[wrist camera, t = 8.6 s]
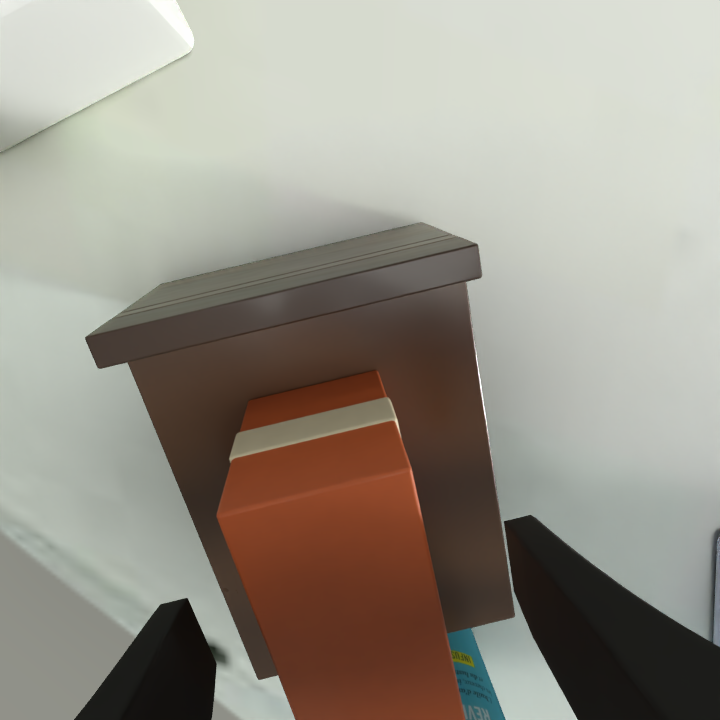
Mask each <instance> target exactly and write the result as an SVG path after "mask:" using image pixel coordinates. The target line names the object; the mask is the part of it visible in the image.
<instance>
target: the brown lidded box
mask: <svg viewBox="0 0 720 720" xmlns="http://www.w3.org/2000/svg"><path fill="white" fill-rule="evenodd" d="M481 277H482V270H481V262H480V255H479V248H478V244H476V243H473V242H471V241H468V240H466V239H463V238H461V237H458V236H455V235H452V234H450V233H447V232H445V231H442V230H440V229H437V228H435V227H432V226H430V225H427V224H425V223H417V224H412V225H408V226H404V227H400V228H396V229H391V230H387V231H383V232H379V233H374V234H370V235H366V236H362V237H358V238H353V239H349V240H345V241H341V242H336V243H332V244H328V245H324V246H320V247H315V248H311V249H307V250H303V251H298V252H294V253H290V254H286V255H282V256H277V257H273V258H269V259H265V260H260V261H256V262H252V263H248V264H244V265H239V266H235V267H231V268H227V269H222V270H218V271H214V272H210V273H206V274H201V275H197V276H193V277H189V278H184V279H180V280H176V281H172V282H168V283H163V284H160V285H159V286H158V287H156V288H155V289H153V290H152V291H151V292H149V293H148V294H146V295H145V296H143V297H142V298H141V299H139V300H138V301H136V302H135V303H134V304H132V305H131V306H129V307H128V308H126V309H125V310H124V311H122V312H121V313H120V314H118V315H116V316H115V317H114V318H112V319H111V320H109V321H108V322H106V323H105V324H103V325H102V326H100V327H99V328H98V329H96V330H95V331H93V332H92V333H90V334H89V335H88V336H86V337H85V340H86V342H87V344H88V347H89V349H90V351H91V353H92V356H93V358H94V360H95V363H96V365H97V367H98V368H99V369H102V368H106V367H110V366H114V365H118V364H123V363H127V362H128V364H129V367H130V369H131V372H132V374H133V377H134V379H135V382H136V384H137V386H138V389H139V391H140V394H141V396H142V399H143V401H144V403H145V406H146V408H147V411H148V413H149V416H150V418H151V420H152V423H153V425H154V428H155V430H156V433H157V435H158V437H159V440H160V442H161V445H162V447H163V450H164V452H165V454H166V457H167V459H168V462H169V464H170V467H171V469H172V471H173V474H174V476H175V479H176V481H177V484H178V486H179V488H180V491H181V493H182V496H183V498H184V501H185V503H186V505H187V508H188V510H189V513H190V515H191V518H192V520H193V523H194V525H195V527H196V530H197V532H198V535H199V537H200V540H201V542H202V544H203V547H204V549H205V552H206V554H207V557H208V559H209V561H210V564H211V566H212V569H213V571H214V574H215V576H216V578H217V581H218V583H219V586H220V588H221V591H222V593H223V595H224V598H225V600H226V603H227V605H228V608H229V610H230V612H231V615H232V617H233V620H234V622H235V625H236V627H237V629H238V632H239V634H240V637H241V639H242V642H243V644H244V646H245V649H246V651H247V654H248V656H249V659H250V661H251V664H252V666H253V668H254V671H255V673H256V676H257V678H258V680H261V679H265V678H269V677H273V676H277V675H278V673H277V671H276V668H275V666H274V663H273V661H272V658H271V655H270V653H269V650H268V648H267V645H266V643H265V640H264V637H263V635H262V632H261V630H260V627H259V625H258V622H257V619H256V617H255V614H254V612H253V609H252V607H251V604H250V601H249V599H248V596H247V594H246V591H245V589H244V586H243V584H242V581H241V578H240V576H239V573H238V571H237V568H236V566H235V563H234V560H233V558H232V555H231V553H230V550H229V548H228V545H227V542H226V540H225V537H224V535H223V532H222V530H221V527H220V524H219V522H218V519H217V517H216V516H217V511H218V507H219V504H220V500H221V497H222V493H223V490H224V486H225V482H226V479H227V475H228V472H229V468H230V465H231V463H230V460H229V458H230V454H231V450H232V447H233V444H234V440H235V437H236V434H237V433H239V432H240V429H241V426H242V422H243V419H244V415H245V411H246V408H247V404H248V401H250V400H253V399H258V398H262V397H266V396H270V395H274V394H278V393H283V392H287V391H291V390H295V389H299V388H303V387H308V386H312V385H316V384H320V383H324V382H328V381H333V380H337V379H341V378H345V377H349V376H354V375H358V374H362V373H366V372H370V371H374V370H376V371H378V373H379V376H380V378H381V381H382V384H383V387H384V390H385V393H386V396H387V397H388V398H389V399H390V400H391V403H392V406H393V409H394V411H395V414H396V417H397V420H398V425H399V429H400V434H401V439H402V442H403V445H404V448H405V451H406V453H407V456H408V459H409V462H410V465H411V468H412V472H413V476H414V481H415V486H416V490H417V495H418V500H419V504H420V509H421V514H422V518H423V523H424V528H425V532H426V537H427V542H428V546H429V551H430V556H431V560H432V565H433V570H434V575H435V579H436V584H437V589H438V593H439V598H440V603H441V607H442V612H443V617H444V621H445V626H446V631H447V634H448V633H452V632H456V631H460V630H465V629H469V628H473V627H477V626H481V625H485V624H489V623H493V622H497V621H501V620H505V619H509V618H513V617H515V612H514V605H513V598H512V591H511V584H510V577H509V571H508V564H507V557H506V550H505V543H504V537H503V530H502V523H501V516H500V509H499V503H498V496H497V489H496V482H495V475H494V469H493V462H492V455H491V448H490V441H489V434H488V428H487V421H486V414H485V407H484V400H483V394H482V387H481V380H480V373H479V366H478V360H477V353H476V346H475V339H474V332H473V325H472V319H471V312H470V305H469V298H468V291H467V285H466V282H467V281H471V280H475V279H479V278H481Z"/></svg>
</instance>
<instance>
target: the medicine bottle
mask: <svg viewBox="0 0 720 720" xmlns="http://www.w3.org/2000/svg"><path fill="white" fill-rule="evenodd" d="M193 45H194V38H193V34H192V32H191V30H190V28H189V26H188V24H187V22H186V20H185V18H184V16H183V14H182V12H181V10H180V8H179V6H178V4H177V2H176V0H0V153H1V152H2V151H4V150H6V149H8V148H10V147H12V146H14V145H16V144H18V143H19V142H21V141H23V140H25V139H27V138H29V137H31V136H33V135H35V134H37V133H38V132H40V131H42V130H44V129H46V128H48V127H50V126H52V125H54V124H55V123H57V122H59V121H61V120H63V119H65V118H67V117H69V116H71V115H72V114H74V113H76V112H78V111H80V110H82V109H84V108H86V107H88V106H89V105H91V104H93V103H95V102H97V101H99V100H101V99H103V98H105V97H107V96H108V95H110V94H112V93H114V92H116V91H118V90H120V89H122V88H124V87H125V86H127V85H129V84H131V83H133V82H135V81H137V80H139V79H141V78H142V77H144V76H146V75H148V74H150V73H152V72H154V71H156V70H158V69H160V68H161V67H163V66H165V65H167V64H169V63H171V62H173V61H175V60H177V59H178V58H180V57H182V56H184V55H186V54H188V53H189V52H190V51H191V50H192V49H193Z"/></svg>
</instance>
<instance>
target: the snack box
mask: <svg viewBox="0 0 720 720" xmlns="http://www.w3.org/2000/svg"><path fill="white" fill-rule="evenodd" d="M229 460H230V463H231V465H230V468H229V472H228V475H227V479H226V482H225V486H224V490H223V493H222V497H221V500H220V504H219V507H218V511H217V516H216V517H217V519H218V522H219V524H220V527H221V530H222V532H223V535H224V537H225V540H226V542H227V545H228V548H229V550H230V553H231V555H232V558H233V560H234V563H235V566H236V568H237V571H238V573H239V576H240V578H241V581H242V584H243V586H244V589H245V591H246V594H247V596H248V599H249V601H250V604H251V607H252V609H253V612H254V614H255V617H256V619H257V622H258V625H259V627H260V630H261V632H262V635H263V637H264V640H265V643H266V645H267V648H268V650H269V653H270V655H271V658H272V661H273V663H274V666H275V668H276V671H277V673H278V676H279V678H280V681H281V684H282V686H283V689H284V691H285V694H286V696H287V699H288V702H289V704H290V707H291V709H292V712H293V714H294V717H295V720H466V719H465V715H464V710H463V705H462V701H461V696H460V691H459V687H458V682H457V677H456V673H455V668H454V663H453V659H452V654H451V649H450V645H449V640H448V635H447V631H446V626H445V621H444V617H443V612H442V607H441V603H440V598H439V593H438V589H437V584H436V579H435V575H434V570H433V565H432V560H431V556H430V551H429V546H428V542H427V537H426V532H425V528H424V523H423V518H422V514H421V509H420V504H419V500H418V495H417V490H416V486H415V481H414V476H413V472H412V468H411V465H410V462H409V459H408V456H407V453H406V451H405V448H404V445H403V442H402V439H401V434H400V429H399V425H398V420H397V417H396V414H395V411H394V409H393V406H392V403H391V400H390V399H389V398H388V397H387V396H386V393H385V390H384V387H383V384H382V381H381V378H380V376H379V373H378V371H376V370H374V371H370V372H366V373H362V374H358V375H354V376H349V377H345V378H341V379H337V380H333V381H328V382H324V383H320V384H316V385H312V386H308V387H303V388H299V389H295V390H291V391H287V392H283V393H278V394H274V395H270V396H266V397H262V398H258V399H253V400H250V401H248V404H247V408H246V411H245V415H244V419H243V422H242V426H241V429H240V432H239V433H237V434H236V437H235V440H234V444H233V447H232V450H231V454H230V458H229Z"/></svg>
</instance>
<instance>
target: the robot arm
mask: <svg viewBox="0 0 720 720" xmlns="http://www.w3.org/2000/svg"><path fill="white" fill-rule="evenodd" d="M504 525H505V532H506V539H507V546H508V553H509V559H510V566H511V573H512V580H513V587H514V592H515V595H516V597H517V600H518V602H519V605H520V607H521V609H522V612H523V614H524V617H525V619H526V621H527V624H528V626H529V629H530V631H531V633H532V636H533V638H534V640H535V642H536V643H537V645H538V647H539V649H540V651H541V653H542V655H543V656H544V658H545V660H546V662H547V664H548V666H549V668H550V669H551V671H552V673H553V675H554V677H555V679H556V680H557V682H558V684H559V686H560V688H561V690H562V691H563V693H564V695H565V697H566V699H567V701H568V702H569V704H570V706H571V708H572V710H573V712H574V713H575V715H576V717H577V719H578V720H720V536H719V537H718V540H717V558H716V584H715V609H714V635H713V643H712V642H710V641H708V640H706V639H705V638H703V637H701V636H700V635H698V634H696V633H695V632H693V631H691V630H689V629H688V628H686V627H684V626H683V625H681V624H679V623H678V622H676V621H674V620H673V619H671V618H670V617H668V616H666V615H665V614H663V613H662V612H660V611H659V610H657V609H656V608H654V607H653V606H651V605H650V604H648V603H647V602H645V601H644V600H642V599H641V598H639V597H638V596H636V595H635V594H633V593H632V592H630V591H629V590H627V589H626V588H625V587H623V586H622V585H620V584H619V583H617V582H616V581H615V580H613V579H612V578H611V577H609V576H608V575H607V574H605V573H604V572H602V571H601V570H600V569H598V568H597V567H596V566H594V565H593V564H592V563H590V562H589V561H588V560H586V559H585V558H584V557H583V556H581V555H580V554H579V553H577V552H576V551H575V550H574V549H572V548H571V547H570V546H569V545H567V544H566V543H565V542H564V541H562V540H561V539H560V538H559V537H558V536H556V535H555V534H554V533H553V532H552V531H550V530H549V529H548V528H547V527H546V526H545V525H543V524H542V523H541V522H540V521H539V520H537V519H536V518H535V517H533V516H532V515H528V516H524V517H520V518H516V519H512V520H508V521H504ZM215 678H216V661H215V659H214V657H213V655H212V652H211V650H210V648H209V646H208V643H207V641H206V639H205V637H204V634H203V632H202V630H201V628H200V625H199V623H198V621H197V619H196V616H195V614H194V612H193V610H192V607H191V605H190V603H189V601H188V598H185V599H181V600H177V601H173V602H169V603H164V604H161V605H160V606H159V607H158V608H157V610H156V611H155V612H154V614H153V615H152V616H151V618H150V619H149V620H148V622H147V623H146V624H145V626H144V627H143V629H142V630H141V631H140V633H139V634H138V635H137V637H136V638H135V640H134V641H133V642H132V644H131V645H130V646H129V648H128V649H127V651H126V652H125V653H124V655H123V656H122V657H121V659H120V660H119V662H118V663H117V664H116V666H115V667H114V668H113V670H112V671H111V672H110V674H109V675H108V676H107V678H106V679H105V680H104V682H103V683H102V685H101V686H100V687H99V688H98V690H97V691H96V692H95V694H94V695H93V696H92V698H91V699H90V701H89V702H88V703H87V704H86V705H85V707H84V708H83V709H82V710H81V712H80V713H79V714H78V716H77V717H76V718H75V719H74V720H211V718H212V712H213V702H214V692H215Z"/></svg>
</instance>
